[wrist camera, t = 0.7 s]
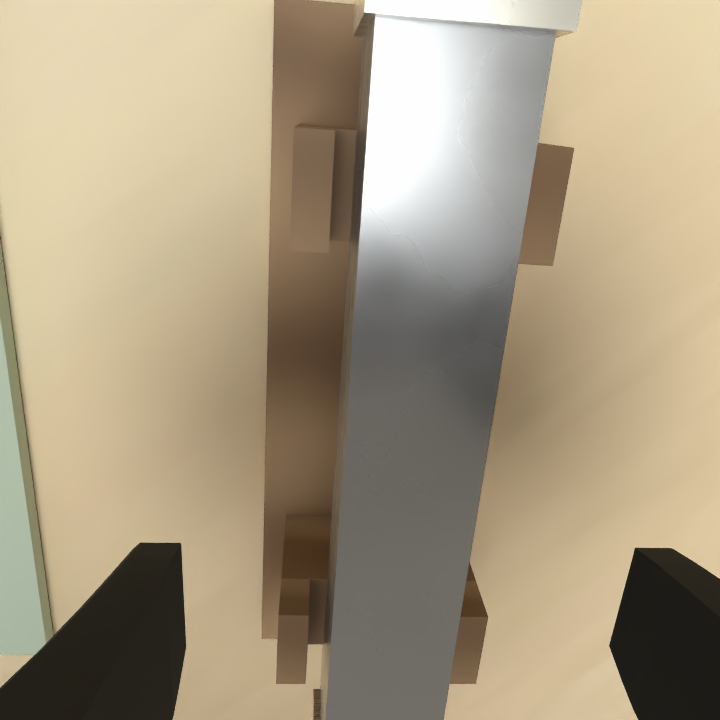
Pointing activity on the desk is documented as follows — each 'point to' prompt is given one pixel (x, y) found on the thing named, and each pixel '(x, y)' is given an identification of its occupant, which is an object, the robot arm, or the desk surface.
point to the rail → (425, 331)
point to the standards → (331, 318)
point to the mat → (18, 513)
